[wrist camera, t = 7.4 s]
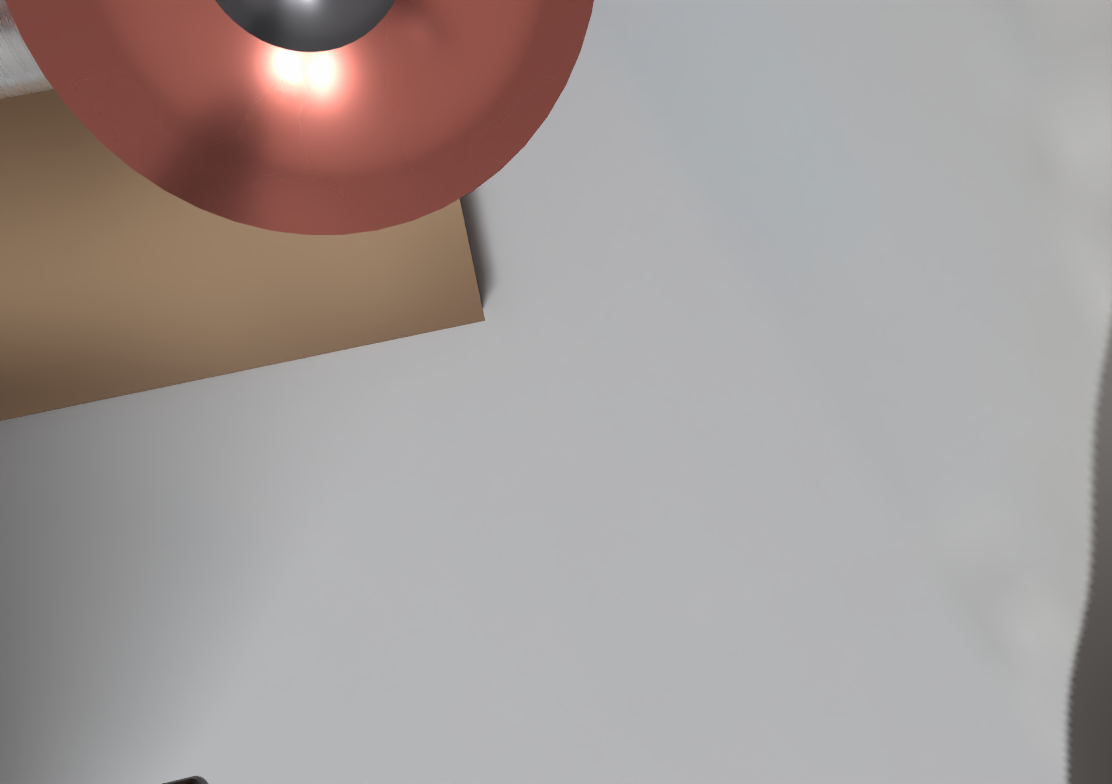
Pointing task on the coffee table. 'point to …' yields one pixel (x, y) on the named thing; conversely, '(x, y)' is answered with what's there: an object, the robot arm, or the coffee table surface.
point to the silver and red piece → (302, 96)
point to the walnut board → (185, 276)
